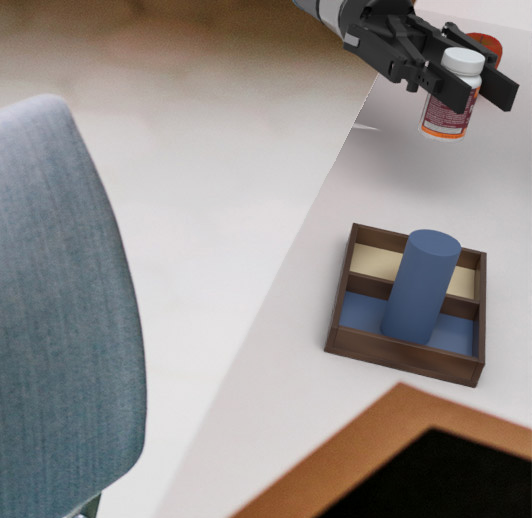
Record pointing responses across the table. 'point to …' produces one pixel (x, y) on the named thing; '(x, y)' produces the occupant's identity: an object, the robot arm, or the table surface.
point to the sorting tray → (375, 302)
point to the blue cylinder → (420, 285)
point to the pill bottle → (439, 115)
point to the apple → (489, 44)
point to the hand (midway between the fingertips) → (488, 99)
